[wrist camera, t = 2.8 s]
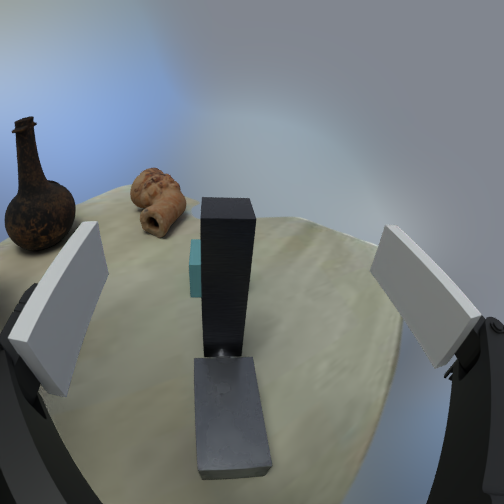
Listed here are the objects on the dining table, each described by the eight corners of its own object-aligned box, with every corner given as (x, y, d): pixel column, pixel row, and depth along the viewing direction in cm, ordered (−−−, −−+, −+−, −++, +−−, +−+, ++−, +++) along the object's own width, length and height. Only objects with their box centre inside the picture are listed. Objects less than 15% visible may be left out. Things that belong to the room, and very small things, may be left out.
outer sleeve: (264, 475, 20) (272, 465, 18) (201, 479, 19) (197, 470, 17) (248, 381, 30) (252, 356, 28) (196, 382, 29) (194, 358, 27)
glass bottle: (91, 222, 59) (80, 104, 44) (55, 265, 44) (27, 117, 29) (39, 221, 57) (24, 117, 42) (1, 258, 42) (-27, 135, 27)
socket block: (243, 297, 43) (246, 265, 40) (190, 297, 42) (188, 265, 38) (238, 269, 49) (241, 239, 46) (192, 269, 47) (191, 239, 44)
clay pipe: (193, 219, 72) (146, 195, 72) (206, 183, 66) (156, 160, 66) (158, 254, 56) (103, 223, 56) (170, 211, 50) (110, 181, 50)
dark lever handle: (252, 457, 21) (294, 338, 11) (210, 459, 21) (196, 342, 11) (233, 321, 37) (244, 183, 27) (203, 321, 36) (203, 182, 26)
